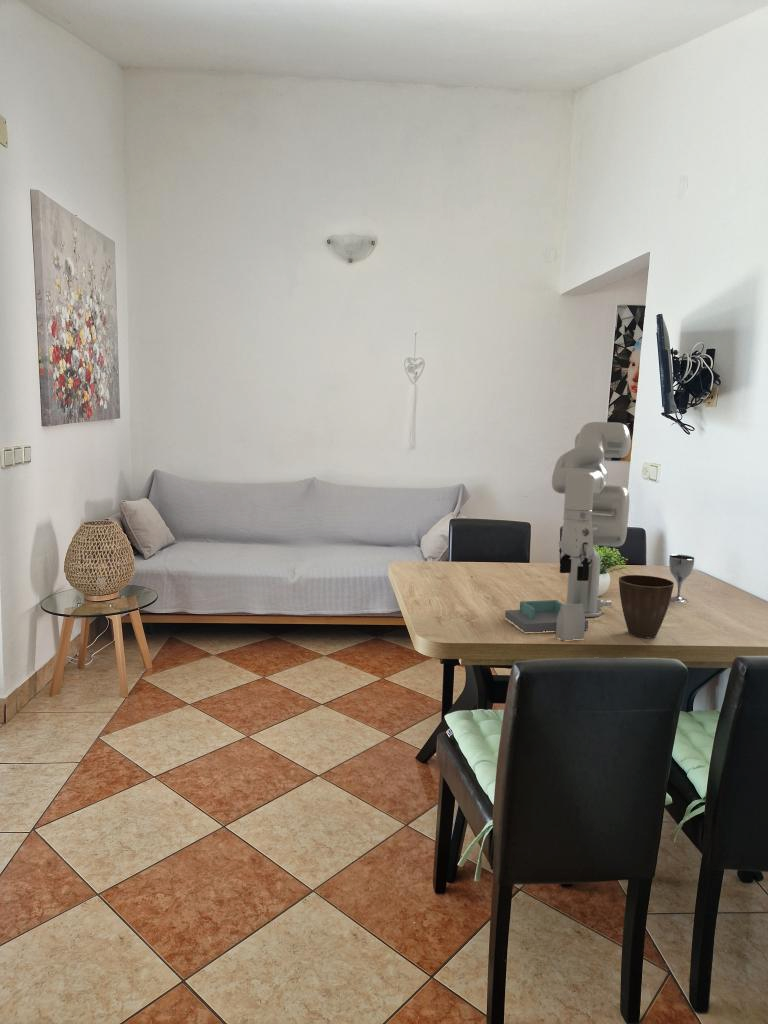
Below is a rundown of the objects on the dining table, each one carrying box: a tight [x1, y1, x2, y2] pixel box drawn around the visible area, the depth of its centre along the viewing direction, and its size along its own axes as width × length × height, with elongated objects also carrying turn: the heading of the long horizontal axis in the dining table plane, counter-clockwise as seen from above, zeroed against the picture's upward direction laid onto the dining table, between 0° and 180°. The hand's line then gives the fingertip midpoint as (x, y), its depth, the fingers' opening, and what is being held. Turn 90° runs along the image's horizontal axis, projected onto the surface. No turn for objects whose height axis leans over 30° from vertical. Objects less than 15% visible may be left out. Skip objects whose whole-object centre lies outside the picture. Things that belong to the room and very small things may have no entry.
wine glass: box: [668, 554, 695, 603], centre depth 250 cm, size 8×8×15 cm
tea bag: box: [555, 603, 586, 641], centre depth 204 cm, size 4×7×10 cm, turn 107°
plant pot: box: [618, 574, 675, 638], centre depth 209 cm, size 15×15×16 cm
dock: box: [504, 599, 589, 632], centre depth 217 cm, size 20×14×6 cm
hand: (573, 576), depth 202 cm, fingers open, 9 cm apart
